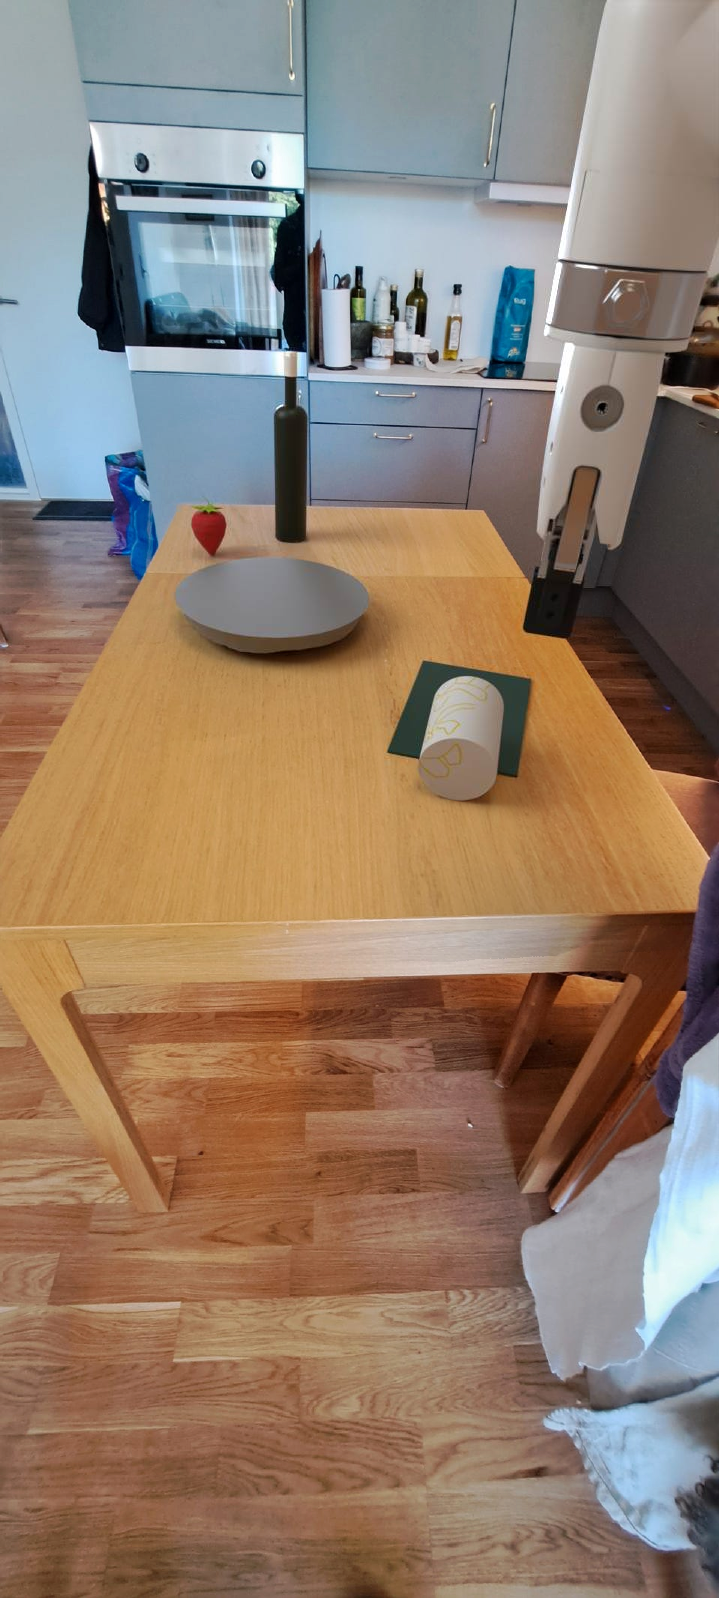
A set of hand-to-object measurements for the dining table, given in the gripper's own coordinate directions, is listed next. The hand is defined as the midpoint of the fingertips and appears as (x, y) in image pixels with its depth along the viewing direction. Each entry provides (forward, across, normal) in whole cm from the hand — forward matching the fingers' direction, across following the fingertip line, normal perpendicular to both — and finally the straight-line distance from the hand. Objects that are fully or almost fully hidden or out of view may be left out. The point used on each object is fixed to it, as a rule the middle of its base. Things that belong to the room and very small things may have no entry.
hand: (546, 630), depth 50 cm
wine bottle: (+27, +83, +46) cm, 99 cm away
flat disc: (+27, +48, +37) cm, 66 cm away
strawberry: (+27, +69, +56) cm, 93 cm away
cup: (+23, +14, +5) cm, 27 cm away
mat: (+27, +32, +6) cm, 42 cm away
